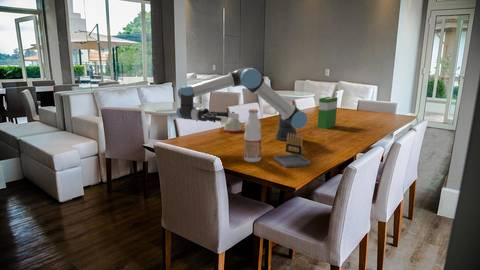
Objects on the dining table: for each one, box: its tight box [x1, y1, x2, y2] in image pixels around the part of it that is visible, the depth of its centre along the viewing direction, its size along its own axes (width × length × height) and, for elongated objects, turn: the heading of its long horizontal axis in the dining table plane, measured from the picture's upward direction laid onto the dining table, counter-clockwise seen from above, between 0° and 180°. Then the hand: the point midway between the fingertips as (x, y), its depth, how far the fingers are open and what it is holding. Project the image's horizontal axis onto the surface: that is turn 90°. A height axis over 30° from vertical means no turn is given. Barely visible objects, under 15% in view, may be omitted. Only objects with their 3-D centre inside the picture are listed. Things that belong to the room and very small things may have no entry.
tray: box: [273, 153, 311, 169], centre depth 178 cm, size 15×15×2 cm
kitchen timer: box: [223, 111, 243, 134], centre depth 252 cm, size 14×14×15 cm
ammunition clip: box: [285, 132, 304, 156], centre depth 195 cm, size 11×2×12 cm, turn 50°
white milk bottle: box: [243, 108, 262, 163], centre depth 178 cm, size 9×9×28 cm
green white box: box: [317, 96, 338, 130], centre depth 270 cm, size 18×7×24 cm, turn 139°
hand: (233, 117), depth 181 cm, fingers open, 13 cm apart
